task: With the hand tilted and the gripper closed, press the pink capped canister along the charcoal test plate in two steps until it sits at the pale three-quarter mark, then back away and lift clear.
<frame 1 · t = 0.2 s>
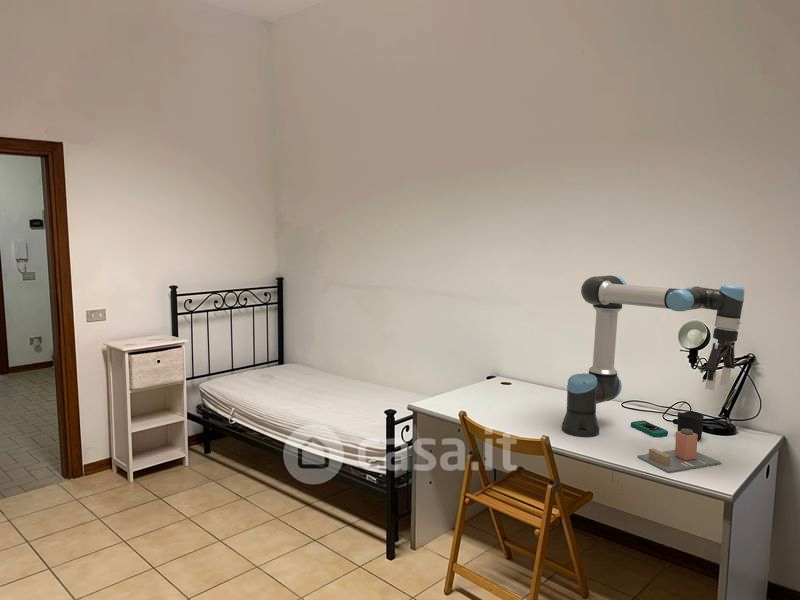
hand: (717, 387, 207), 27 cm above the table, tool pointing down, fingers open, 13 cm apart
pink capped canister: (686, 443, 211), point 6 cm above the table, slide at 0.0 cm
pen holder: (689, 438, 235), on the table
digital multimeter: (648, 432, 243), on the table
test plate: (685, 459, 212), on the table
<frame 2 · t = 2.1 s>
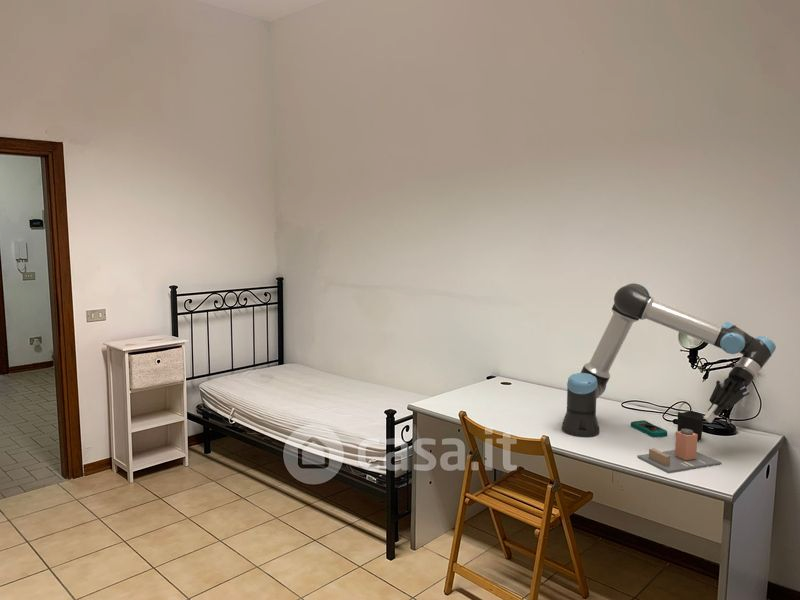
hand: (707, 420, 213), 14 cm above the table, tool tilted 45°, fingers closed
nothing on the table moved.
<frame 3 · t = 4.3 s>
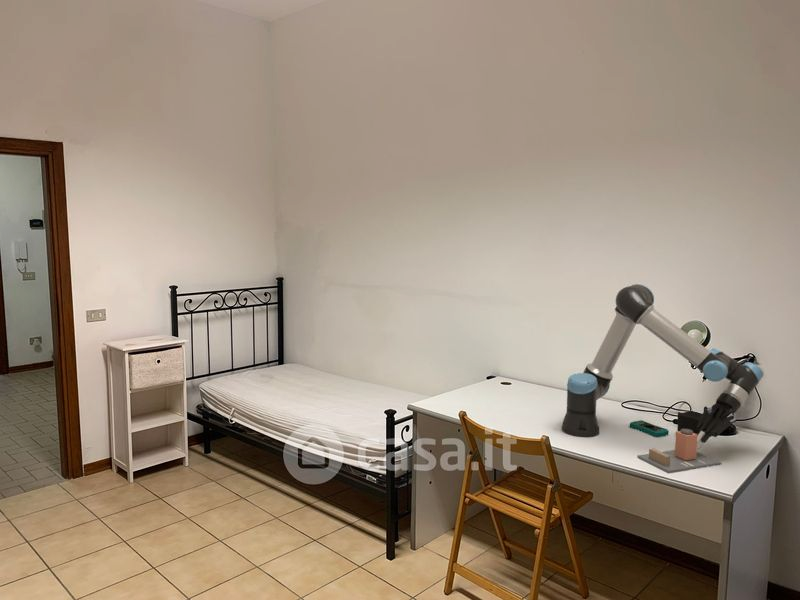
hand: (694, 447, 212), 4 cm above the table, tool tilted 45°, fingers closed
pink capped canister: (686, 443, 211), point 6 cm above the table, slide at 0.1 cm, touching gripper
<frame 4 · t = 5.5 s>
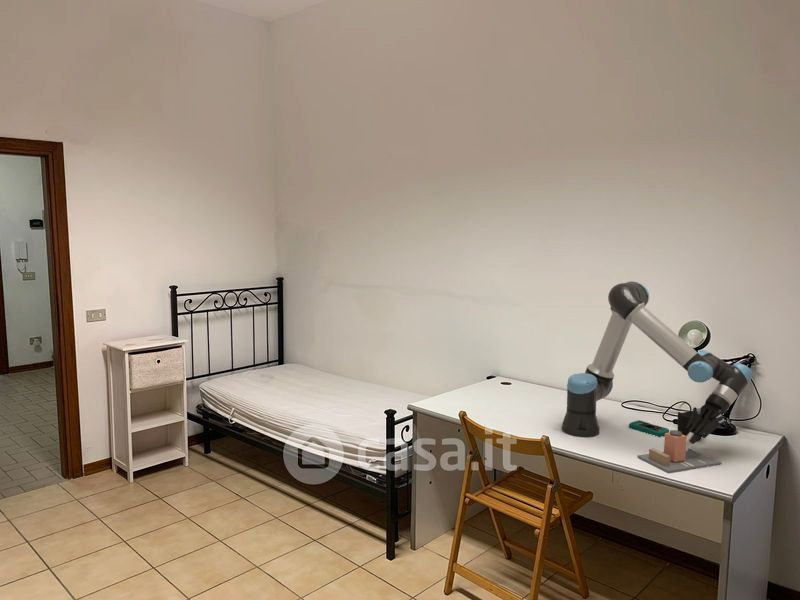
hand: (682, 448, 211), 5 cm above the table, tool tilted 45°, fingers closed
pink capped canister: (675, 445, 209), point 6 cm above the table, slide at 5.1 cm, touching gripper
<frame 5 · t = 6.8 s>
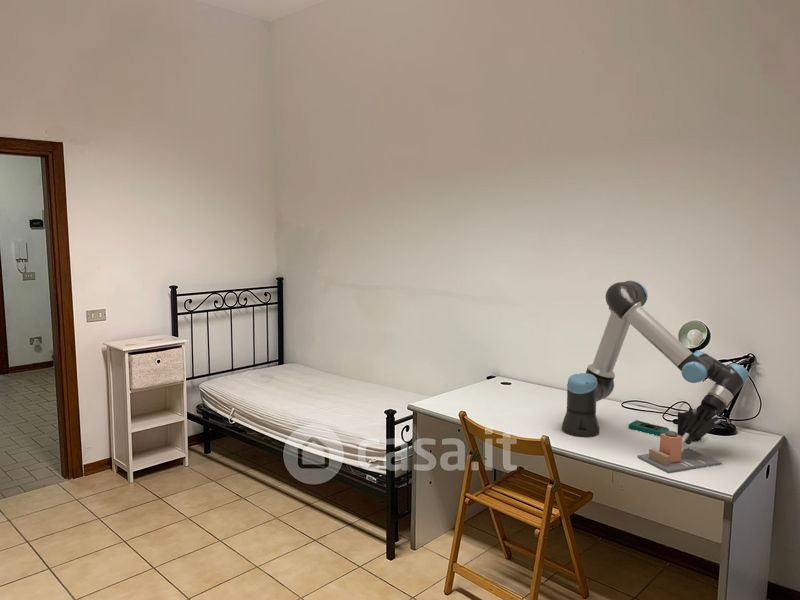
hand: (678, 449, 210), 5 cm above the table, tool tilted 45°, fingers closed
pink capped canister: (670, 446, 209), point 6 cm above the table, slide at 7.1 cm, touching gripper
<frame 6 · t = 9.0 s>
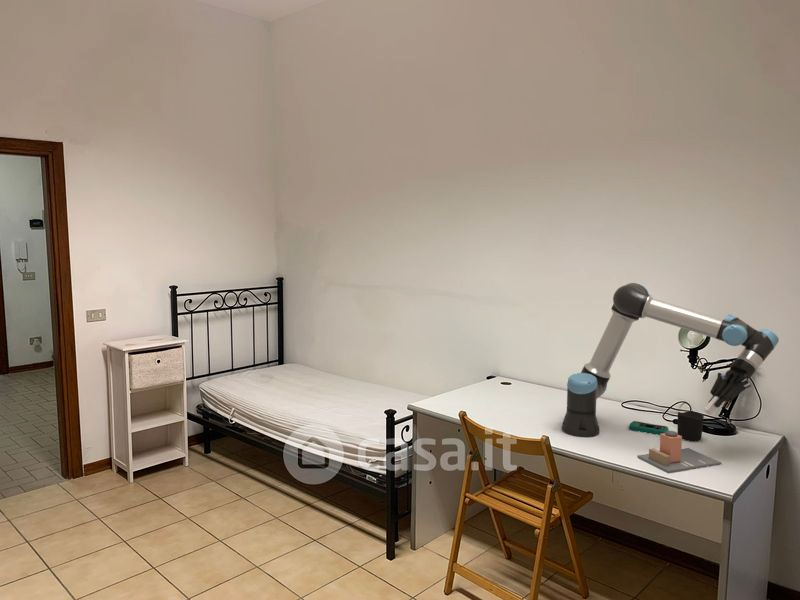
hand: (707, 411, 212), 17 cm above the table, tool tilted 45°, fingers closed
pink capped canister: (670, 446, 209), point 6 cm above the table, slide at 7.1 cm
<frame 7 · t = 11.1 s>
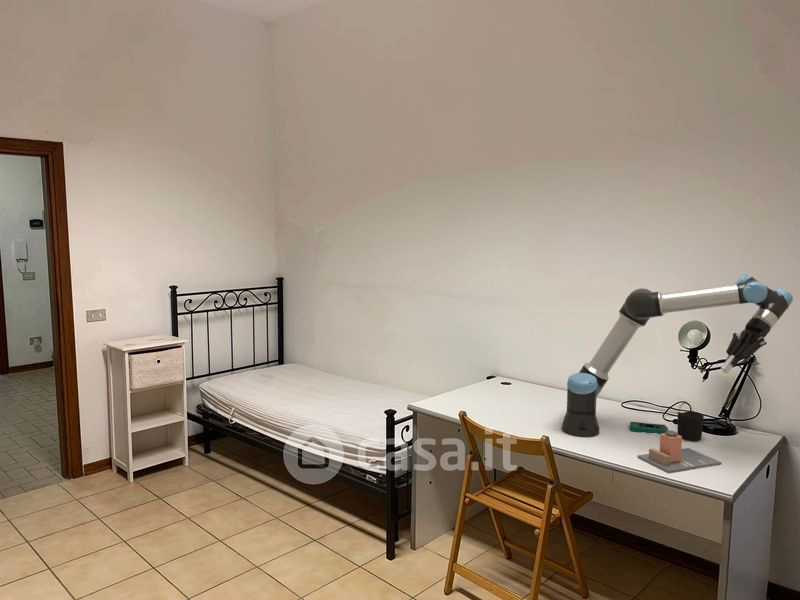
hand: (724, 370, 213), 32 cm above the table, tool tilted 45°, fingers closed
at the end: pink capped canister slide at 7.1 cm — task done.
